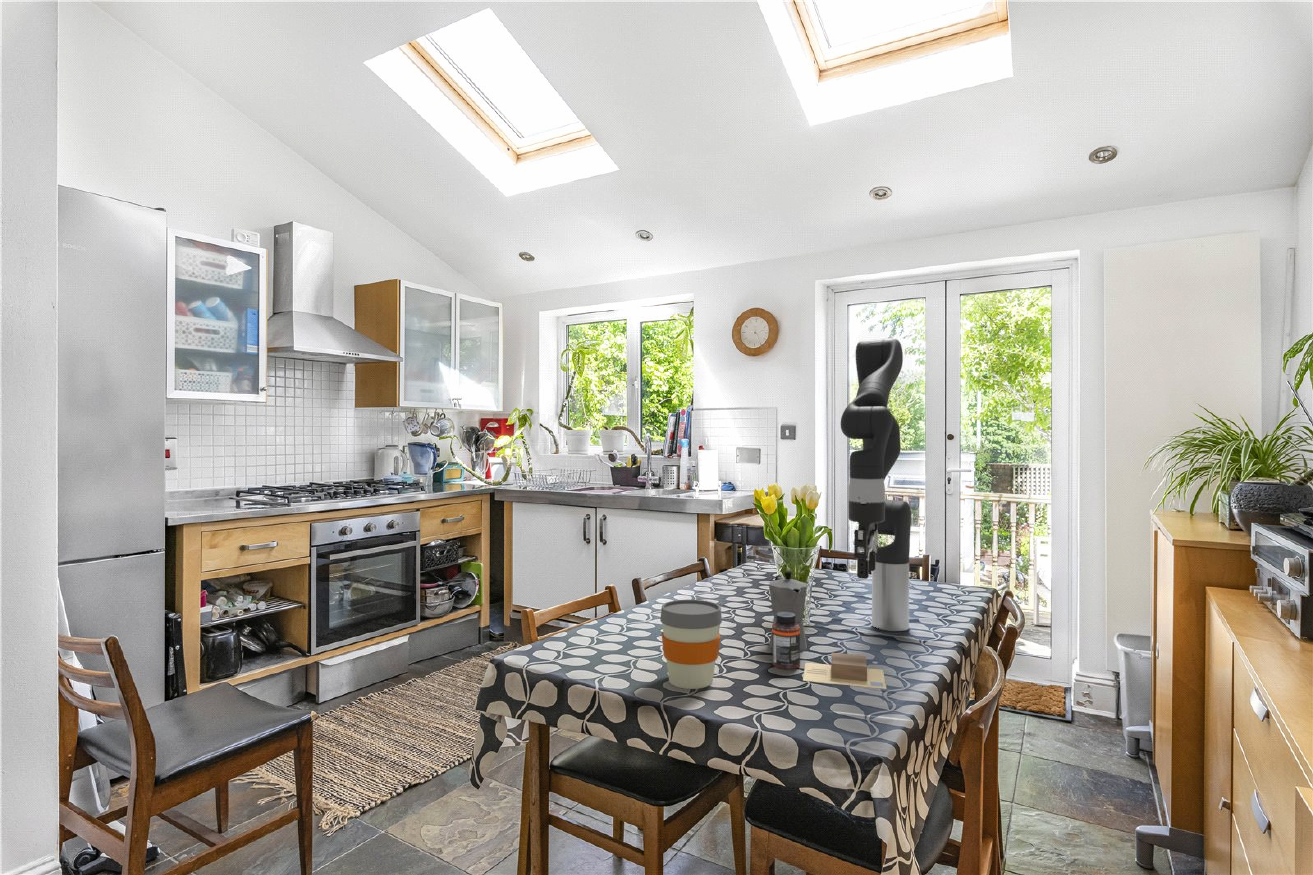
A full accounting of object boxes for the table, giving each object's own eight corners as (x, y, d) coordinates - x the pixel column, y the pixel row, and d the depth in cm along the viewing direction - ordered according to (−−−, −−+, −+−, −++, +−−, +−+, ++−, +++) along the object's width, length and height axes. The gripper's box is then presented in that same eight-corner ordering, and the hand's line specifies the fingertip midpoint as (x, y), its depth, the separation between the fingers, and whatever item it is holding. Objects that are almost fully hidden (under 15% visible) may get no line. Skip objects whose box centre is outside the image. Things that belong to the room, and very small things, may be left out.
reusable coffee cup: (719, 670, 140) (720, 599, 140) (723, 693, 127) (724, 615, 127) (660, 669, 140) (661, 598, 140) (658, 691, 128) (659, 614, 128)
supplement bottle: (780, 659, 147) (780, 608, 147) (805, 665, 143) (805, 613, 143) (767, 666, 142) (767, 614, 142) (791, 673, 138) (792, 619, 138)
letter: (805, 664, 144) (805, 662, 144) (882, 671, 139) (882, 669, 139) (802, 681, 133) (802, 680, 133) (886, 690, 129) (886, 688, 129)
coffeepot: (817, 656, 149) (817, 576, 149) (777, 657, 148) (777, 577, 148) (794, 635, 164) (794, 563, 164) (757, 637, 163) (758, 564, 163)
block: (831, 666, 141) (831, 652, 141) (865, 669, 139) (865, 655, 139) (831, 678, 135) (831, 663, 135) (867, 681, 133) (867, 666, 133)
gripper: (855, 495, 150) (855, 566, 150) (841, 501, 137) (841, 579, 137) (889, 497, 146) (889, 569, 146) (879, 503, 134) (879, 582, 134)
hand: (866, 574), depth 142 cm, fingers open, 8 cm apart
